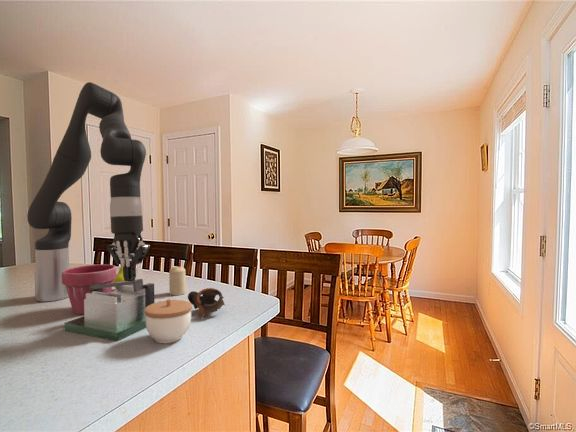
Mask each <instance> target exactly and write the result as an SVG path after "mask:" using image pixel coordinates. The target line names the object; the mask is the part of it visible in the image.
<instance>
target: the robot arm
mask: <svg viewBox="0 0 576 432" xmlns="http://www.w3.org/2000/svg"><path fill="white" fill-rule="evenodd" d="M88 115H91V116H94V117H96V118H98V119H101V120H100V122H99V124H98V125H99V127H98V128H99V129H98V130H99V134H100V136H101V138H102V142H101V145H100V151H99V152H100V157H101V159H102V160H103V162H105V163H106V164H108V165H110V166H122V167H125V166H127V167H129V168H130V169H129V170H128V172H126V173H119V174H114V175H112V176H111V177H110V179H109V194H110V202H109V203H110V204H109V213H110V214H109V215H110V233H111V234H113V235H114V236H113V242H112V244H109V245H107V246H106V249H107V251H108V252H109V255H110V256H111V257H112V259H113V261H114V262H115V264H116V265H120V267H123V277H124V280H125V281H132V280H136V279H137V269H136V268H137V265H139V264H142V263H143V261H144V259H145V257H146V256H147V254H148V253H149V250H150V249H151V245H150V244H146V243H145V242H144V241H143V237H142V234H141V233H142V232H144V222H143V221H144V220H143V205H142V199H141V179H142V178H141V176H142V170H143V167H144V163H145V161H146V156H147V150H146V147H145V145H144V143H143V142H142V141H141V140H138V139H134V138H132V135H131V132H130V131H129V128H128V127H127V125H126V123H125V118H124V109H123V103H122V100H121V98H120V96H119V95H117V94H116V93H114V92H112V91H111V90H108V89H106V88H104V87H102V86H99V85H98V84H96V83H93V82H90V81H88V82H86V83H85V84H83V86H82V88H81V90H80V92H79V94H78V96H77V100H76V103H75V106H74V109H73V112H72V115H71V118H70V121H69V124H68V127H67V129H66V130H65V133H64V135H63V138H62V139H61V141H60V143H59V146H58V148H57V150H56V153H55V155H54V157H53V159H52V162H51V165H50V167H49V170H48V172H47V174H46V176H45V179H44V181H43V182H42V184H41V186H40V188H39V190H38V192H37V194H36V195H35V197H34V198H33V200H32V202H30V205H29V208H28V210H27V211H28V212H27V216H26V217H27V223H28V224H29V226H30V227H31V228H33V229H36V230H48V232H47V233H46V234H45V235H43V236H42V237H41V238H39V239H37V240H36V241H35V242H34V249H35V250H34V252H35V253H34V254H35V270H34V296H35V297H34V299H35V300H36V301H37V302H53V301H55V302H56V301H60V300H64V299H67V298H69V296H68V293H67V289H66V285H63V284H62V271H63V270H66V269H69V268H70V256H69V252H70V251H69V248H70V247H69V246H70V245H69V244H70V241H71V239H72V238H71V236H72V219H73V218H72V217H73V216H72V211H71V208H70V206H69V205H68V204H67V203H66V202H64V201H59V199H60V198H61V196H62V195H63V194H64V193H65V192H66V191H67V190H68V189H69V188H71V187H72V186H73V185H74V184H76V183H77V182H78V181H80V179H81V178H83V176H84V175H85V172H86V171H87V169H88V167H89V164H90V162H91V160H92V150H91V145H90V142H89V140H88V139H89V138H88V135H87V129H86V120H87V116H88Z"/></svg>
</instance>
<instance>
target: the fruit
mask: <svg viewBox="0 0 576 432" xmlns="http://www.w3.org/2000/svg"><path fill="white" fill-rule="evenodd" d="M121 281H125V280H124V277H123V267H122V266H120V268H119V270H118V272H117V273H116V278H115V279H114V280H113V283H114V282H121ZM114 288H115V289H116V290H117V286H115V287H114Z"/></svg>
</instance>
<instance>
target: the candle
mask: <svg viewBox="0 0 576 432" xmlns="http://www.w3.org/2000/svg"><path fill="white" fill-rule="evenodd" d="M168 273H169V279H168V280H169V295H170V296H182V295H185V294H186V292H187V291H186V284H187V283H186V280H187V279H186V268H185V267H183V266H182V265H181V266H177V265H176V266H175V265H174V266H172V267H171V268H170V269H169V272H168Z"/></svg>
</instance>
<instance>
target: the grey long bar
mask: <svg viewBox="0 0 576 432" xmlns="http://www.w3.org/2000/svg"><path fill="white" fill-rule="evenodd" d="M130 284H133V288H134V292H137V291H140V290H143V289H144V286H143V285H144V280H143V278H138V279H137V278H135V280H132V281H121V282H114V283H107V284H96V285H92V286H90V289H91V290H92V289H99V288H107V287H112V288H115V286H123V285H130Z"/></svg>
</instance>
